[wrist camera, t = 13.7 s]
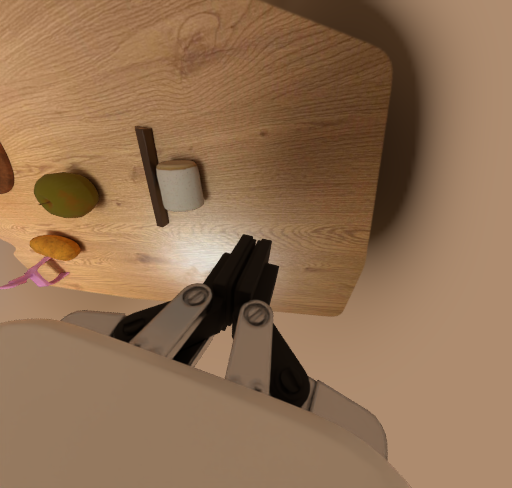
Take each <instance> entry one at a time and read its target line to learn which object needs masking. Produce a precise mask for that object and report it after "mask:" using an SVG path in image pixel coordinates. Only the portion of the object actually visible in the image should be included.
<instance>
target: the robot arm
mask: <svg viewBox="0 0 512 488" xmlns="http://www.w3.org/2000/svg"><path fill="white" fill-rule="evenodd" d="M255 244H256V240H255V239H253V236H249V235H245V234H243V235H242V237H241V239H240V240H239V242H238V243H237V245H236V246H235V248H234V250H233V251H232V253H231V254H230V253H224V254H223V255H222V257H221V258H220V260H219V261H218V263H217V264H216V266H215V267H214V269H213V270H212V271H211V273H210V274H209V276H208V277H207V279H206V280H205V282H204V283H203V284H201V283H196V284H191V285H189V286H187V287H186V288H184V289H183V290H182V291H181V292H180V293H179V294H178V295H177V296H176V297H175V298H174V299H173V300H172V301H169V302H166V303H163V304H160V305H157V306H154V307H151V308H148V309H145V310H142V311H139V312H136V313H133V314H131V315H129V316H126V315H125V314H124V313H112V312H100V311H87V310H82V311H76V312H73V313H71V314H69V315H67V316H65V317H64V318H63V319H62V320H60V321H58V320H51V319H23V320H14V321H8V322H4V323H0V488H411V487H410V485H409V484H408V483H407V482H406V480H405V479H404V478H403V477H402V476H401V475H400V474H399V473H398V471H397V470H396V469H395V468H394V467H393V466H392V465H391V464H390V463H389V462H388V461H387V439H386V434H385V432H384V430H383V427H382V425H381V424H380V423H379V421H378V419H377V418H376V417H375V416H374V415H373V414H371V413H370V412H369V411H368V410H366V409H365V408H363V407H362V406H360V405H358V404H357V403H355V402H354V401H352V400H350V399H349V398H347V397H345V396H344V395H342V394H341V393H339V392H337V391H336V390H334V389H332V388H331V387H329V386H327V385H326V384H324V383H323V382H321V381H319V380H317V381H315V380H314V379H312V378H310V377H309V376H307V374H306V372H305V370H304V369H303V367H302V366H301V364H300V363H299V361H298V359H297V358H296V356H295V355H294V353H293V352H292V351H291V349H290V348H289V346H288V344H287V343H286V342H285V340H284V339H283V337H282V336H281V334H280V333H279V331H278V330H277V328H276V326H275V325H274V323H273V311H272V309H271V307H270V306H269V305H270V302H271V298H272V294H273V290H274V286H275V282H276V278H277V274H278V269H279V266H277V265H273V264H269V263H268V261H269V255H270V249H271V244H272V241H271V240H266V239H262V240H261V241H260V240H258V242H257V244H256V246H255ZM231 324H232V338H233V344H232V349H231V353H230V358H229V363H228V367H227V372H226V376H225V379H223V378H221V377H218V376H215V375H213V374H210V373H207V372H205V371H202V370H199V369H196V368H194V367H195V365H196V364H197V362H198V360H199V359H200V358H201V356H202V355H203V353H204V352H205V350H206V349H207V347H208V345H209V344H210V343H211V341H212V339H213V337H214V335H215V334H217V333H220V331H221V330H223V331H225V329H226V327H227V325H228V326H231Z"/></svg>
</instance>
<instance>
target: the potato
mask: <svg viewBox="0 0 512 488" xmlns="http://www.w3.org/2000/svg"><path fill="white" fill-rule="evenodd" d="M30 247H31V248H32V249H33V250H34V251H35V252H37V253H39V254H42V255H45V256H47V257H50V258H54V259H58V260H63V261H68V260H71V259H74V258H75V257H76V256H77V255H78V254H79V253H80V251H81V250H80V247H79V245H78V244H77V243H76V242H75V241H73V240H71V239H68V238H65V237H62V236H58V235H43V236H38V237H35V238H33V239H32V240H31V241H30Z"/></svg>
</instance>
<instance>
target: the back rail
mask: <svg viewBox="0 0 512 488" xmlns="http://www.w3.org/2000/svg"><path fill="white" fill-rule="evenodd" d="M135 131H136V135H137V140H138V144H139V148H140V153H141V157H142V161H143V166H144V170H145V175H146V179H147V183H148V188H149V192H150V196H151V201H152V205H153V209H154V214H155V218H156V223H157V226H160V227H164V226H166V225H167V224H168V223H169V219H168V213H167V210H166V209H165V208H164V205H163V201H162V196H161V191H160V186H159V182H158V178H157V171H156V168H157V165H158V159H157V154H156V148H155V143H154V138H153V132H152V128H145V127H139V126H135Z"/></svg>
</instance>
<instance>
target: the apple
mask: <svg viewBox="0 0 512 488" xmlns="http://www.w3.org/2000/svg"><path fill="white" fill-rule="evenodd" d="M34 194H35V197H36V198H37V200H38V202H39V203H40V204H39V205H42V206H43V207H44V208H45V209H46V210H47V211H48V212H50V213H51V214H53V215H56V216H60V217H64V218H78V217H82V216H84V215H86V214H87V213H89V212H91V210H92V209H93V208H94V207H95V205H96V204H97V203H98V200H99V196H98V193H97V190H96V188H95V187H94V185H93V184H92V183H91V182H90V181H89V180H88V179H87V178H85V177H83V176H81V175H78V174H73V173H66V172H62V173H54V174H46V175H44V176H42V177H41V178H40V179H39V180H38V181H37V182H36V184H35V187H34Z"/></svg>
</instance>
